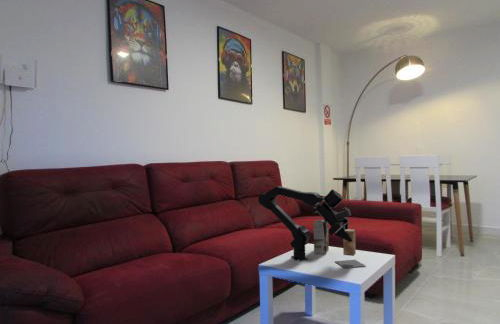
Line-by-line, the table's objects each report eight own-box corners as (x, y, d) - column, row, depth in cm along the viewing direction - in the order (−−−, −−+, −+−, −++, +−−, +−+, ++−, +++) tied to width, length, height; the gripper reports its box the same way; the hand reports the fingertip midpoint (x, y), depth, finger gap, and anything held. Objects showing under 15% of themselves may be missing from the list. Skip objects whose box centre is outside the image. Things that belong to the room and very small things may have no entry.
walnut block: (343, 254, 162) (343, 230, 161) (345, 252, 166) (345, 228, 165) (353, 256, 159) (353, 231, 159) (355, 253, 163) (355, 229, 163)
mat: (335, 262, 167) (335, 261, 167) (354, 260, 168) (354, 259, 168) (344, 268, 157) (344, 267, 157) (365, 266, 159) (365, 265, 159)
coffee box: (326, 254, 180) (325, 222, 180) (313, 253, 182) (313, 221, 182) (329, 249, 188) (328, 219, 188) (316, 249, 191) (316, 218, 191)
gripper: (335, 205, 156) (361, 232, 151) (344, 200, 172) (368, 224, 167) (317, 222, 159) (342, 249, 155) (328, 215, 176) (351, 239, 171)
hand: (352, 240), depth 162 cm, fingers closed on walnut block, 4 cm apart
